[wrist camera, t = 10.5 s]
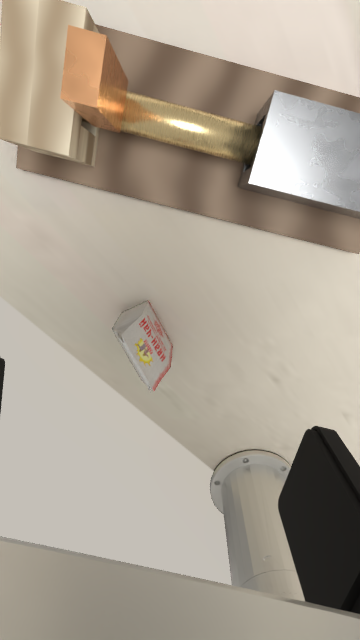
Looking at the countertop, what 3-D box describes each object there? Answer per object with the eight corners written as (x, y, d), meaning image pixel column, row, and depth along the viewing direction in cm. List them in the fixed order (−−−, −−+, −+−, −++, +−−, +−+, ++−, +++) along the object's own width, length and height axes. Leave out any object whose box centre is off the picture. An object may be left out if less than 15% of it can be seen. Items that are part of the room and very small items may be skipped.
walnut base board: (406, 117, 34) (416, 113, 33) (352, 252, 39) (358, 254, 37) (35, 14, 32) (28, 5, 31) (22, 169, 37) (16, 167, 35)
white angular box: (147, 357, 44) (135, 399, 34) (121, 312, 42) (102, 343, 32) (172, 346, 43) (168, 385, 34) (148, 300, 41) (136, 328, 32)
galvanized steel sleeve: (390, 149, 34) (439, 135, 27) (362, 219, 36) (402, 222, 30) (257, 113, 33) (274, 90, 27) (237, 187, 35) (248, 183, 29)
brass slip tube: (296, 136, 32) (349, 102, 22) (282, 180, 33) (326, 168, 23) (68, 75, 31) (6, 7, 20) (62, 123, 32) (1, 82, 22)
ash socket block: (110, 54, 32) (86, 7, 24) (94, 166, 35) (68, 155, 28) (47, 37, 32) (3, -16, 24) (37, 152, 35) (-5, 137, 27)
